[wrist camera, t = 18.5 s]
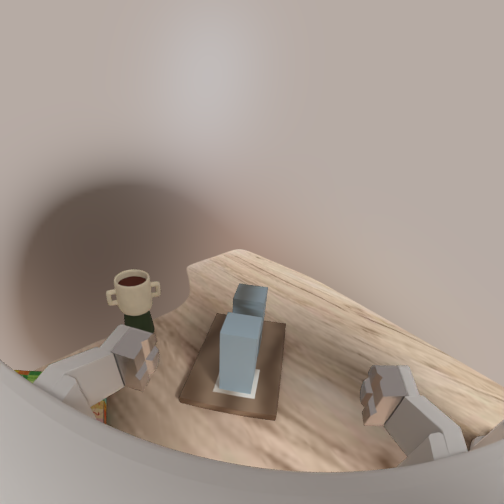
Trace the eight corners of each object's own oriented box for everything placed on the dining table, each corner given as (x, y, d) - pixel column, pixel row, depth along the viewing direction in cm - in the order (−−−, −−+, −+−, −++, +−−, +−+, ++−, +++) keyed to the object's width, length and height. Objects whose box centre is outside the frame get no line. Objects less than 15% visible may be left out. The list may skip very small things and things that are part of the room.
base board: (284, 329, 58) (294, 274, 53) (275, 420, 36) (290, 362, 31) (216, 318, 60) (218, 263, 55) (180, 402, 38) (170, 341, 33)
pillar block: (255, 372, 44) (262, 317, 39) (250, 394, 39) (257, 339, 35) (226, 367, 45) (228, 312, 40) (219, 388, 40) (219, 333, 35)
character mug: (159, 317, 58) (154, 264, 53) (169, 337, 52) (164, 281, 47) (113, 327, 52) (102, 274, 47) (119, 349, 47) (105, 292, 42)
